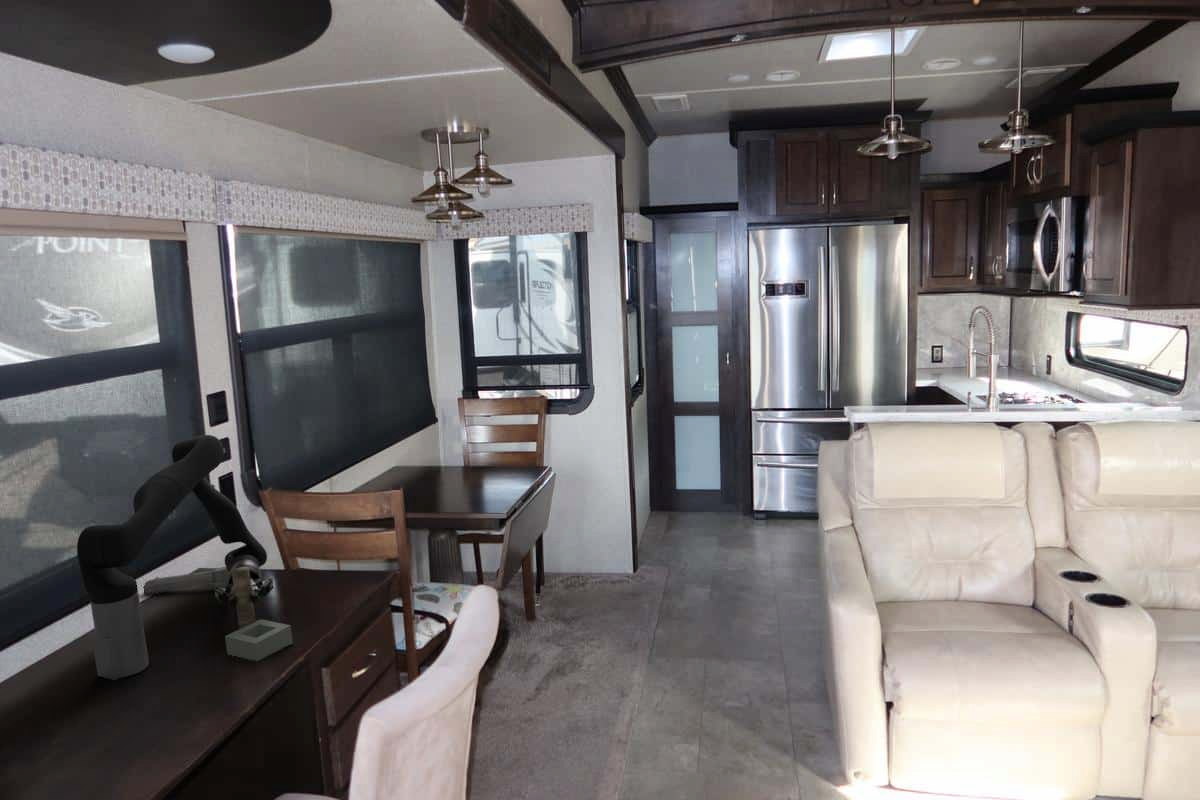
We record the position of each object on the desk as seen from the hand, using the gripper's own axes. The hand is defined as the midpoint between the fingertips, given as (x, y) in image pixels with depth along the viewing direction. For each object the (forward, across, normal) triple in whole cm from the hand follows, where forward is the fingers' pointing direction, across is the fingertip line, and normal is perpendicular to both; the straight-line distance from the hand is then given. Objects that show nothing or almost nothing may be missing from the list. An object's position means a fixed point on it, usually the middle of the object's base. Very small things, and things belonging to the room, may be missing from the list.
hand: (243, 601), depth 202 cm
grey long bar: (-43, -15, +10) cm, 46 cm away
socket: (+8, +3, +9) cm, 12 cm away
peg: (-3, 0, +9) cm, 9 cm away
